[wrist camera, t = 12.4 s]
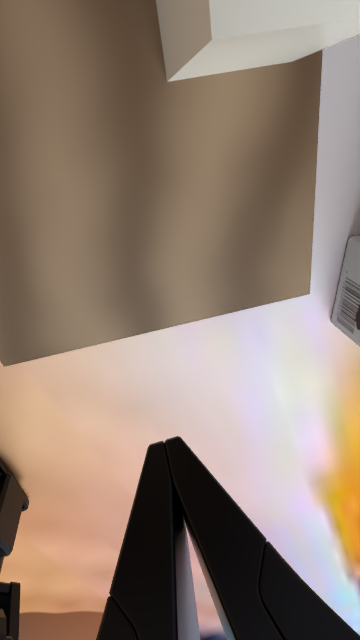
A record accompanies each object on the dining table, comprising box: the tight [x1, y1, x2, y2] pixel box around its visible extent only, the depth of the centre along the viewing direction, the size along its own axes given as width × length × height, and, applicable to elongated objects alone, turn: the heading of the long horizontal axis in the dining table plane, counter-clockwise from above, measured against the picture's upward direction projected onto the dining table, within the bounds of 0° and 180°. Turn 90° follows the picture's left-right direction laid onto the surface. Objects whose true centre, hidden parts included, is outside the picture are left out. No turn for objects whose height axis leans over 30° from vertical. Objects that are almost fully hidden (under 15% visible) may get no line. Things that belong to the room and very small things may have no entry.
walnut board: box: [0, 0, 322, 367], centre depth 14 cm, size 18×20×1 cm
